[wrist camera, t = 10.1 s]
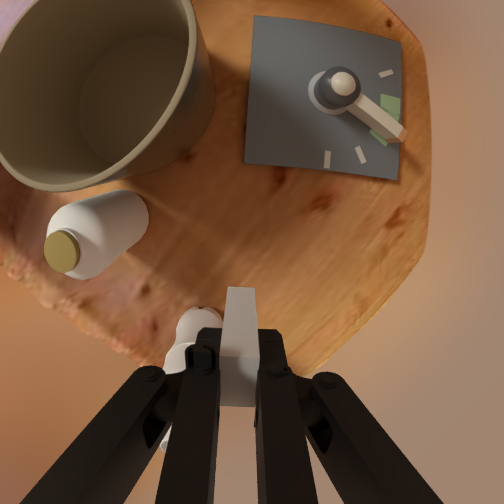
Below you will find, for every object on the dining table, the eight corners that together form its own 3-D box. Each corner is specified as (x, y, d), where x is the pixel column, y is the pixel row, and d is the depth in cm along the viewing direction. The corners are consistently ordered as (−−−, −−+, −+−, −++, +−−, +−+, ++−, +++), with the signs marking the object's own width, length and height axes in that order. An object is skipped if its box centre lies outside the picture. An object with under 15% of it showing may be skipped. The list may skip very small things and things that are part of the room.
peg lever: (306, 95, 36) (315, 86, 31) (325, 68, 35) (336, 56, 30) (383, 152, 39) (401, 152, 33) (399, 125, 38) (419, 122, 32)
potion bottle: (154, 192, 41) (97, 216, 24) (147, 248, 44) (95, 302, 26) (102, 184, 41) (28, 204, 23) (98, 238, 43) (30, 282, 26)
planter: (74, 179, 40) (-17, 200, 21) (83, 44, 34) (6, 1, 15) (216, 174, 41) (191, 188, 22) (223, 26, 34) (208, -55, 15)
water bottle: (187, 294, 46) (142, 415, 22) (232, 308, 47) (223, 438, 23) (176, 332, 48) (135, 455, 24) (218, 345, 49) (204, 474, 25)
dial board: (254, 18, 34) (254, 14, 33) (397, 45, 35) (401, 42, 34) (244, 163, 40) (244, 163, 39) (393, 179, 41) (397, 180, 40)
